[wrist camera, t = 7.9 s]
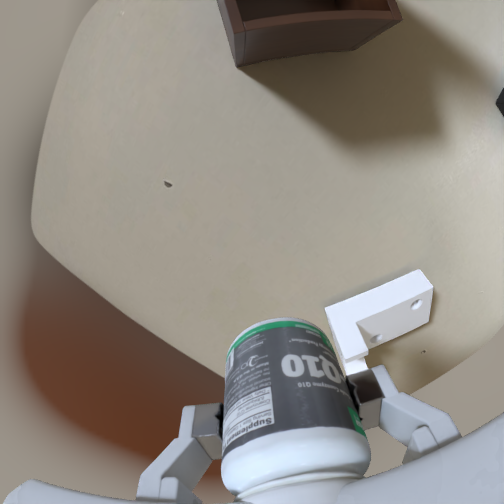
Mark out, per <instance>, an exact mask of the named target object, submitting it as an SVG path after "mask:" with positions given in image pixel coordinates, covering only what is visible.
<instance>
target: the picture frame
mask: <svg viewBox="0 0 504 504" xmlns="http://www.w3.org/2000/svg"><path fill="white" fill-rule="evenodd" d="M496 105H497V107H498V108H499V110H500V111H501V113H502V114H503V116H504V88H503V90H502V92H501V94H500V96H499V98H498V99H497V101H496Z"/></svg>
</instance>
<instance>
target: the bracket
mask: <svg viewBox="0 0 504 504" xmlns="http://www.w3.org/2000/svg"><path fill="white" fill-rule="evenodd" d="M432 294H433V286H432V285H431V283H430V282H429V281H428V279H427V278H426V277H425V275H424V274H423V273H422V272H421V270H420V269H417V270H415V271H413V272H410V273H408V274H406V275H404V276H401V277H399V278H397V279H395V280H392V281H390V282H388V283H385V284H383V285H381V286H378V287H376V288H374V289H371V290H369V291H366V292H364V293H362V294H359V295H357V296H354V297H352V298H349V299H347V300H344V301H342V302H339V303H336V304H334V305H331V306H329V307H326V308H325V311H326V315H327V319H328V322H329V326H330V328H331V331H332V334H333V338H334V342H335V345H336V348H337V351H338V353H339V356H340V359H341V361H342V364H343V367H344V369H345V372H346V375H350V374H353V373H357V372H360V371H363V370H366V369H368V368H367V365H366V362H365V359H364V356H366V355H369V354H368V349H371V348H373V347H375V346H378V345H380V344H382V343H385V342H387V341H389V340H391V339H394V338H396V337H398V336H400V335H402V334H404V333H407V332H409V331H411V330H413V329H415V328H417V327H419V326H421V325H423V324H425V323H427V322H428V321H429V315H430V309H431V302H432Z"/></svg>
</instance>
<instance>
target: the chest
mask: <svg viewBox="0 0 504 504" xmlns="http://www.w3.org/2000/svg"><path fill="white" fill-rule="evenodd" d="M217 3H218V7H219V10H220V13H221V17H222V20H223V24H224V27H225V30H226V34H227V37H228V41H229V44H230V48H231V51H232V55H233V59H234V62H235V66H236V67H241V66H245V65H250V64H254V63H259V62H264V61H269V60H275V59H281V58H287V57H293V56H300V55H307V54H316V53H324V52H335V51H347V50H355V49H357V48H359V47H360V46H362V45H363V44H365V43H366V42H368V41H369V40H371V39H373V38H374V37H376V36H377V35H379V34H381V33H382V32H384V31H385V30H387V29H389V28H390V27H392V26H394V25H395V24H397V23H399V22H401V21H402V20H403V19H402V16H401V14H400V11H399V8H398V6H397V3H396V1H395V0H217Z"/></svg>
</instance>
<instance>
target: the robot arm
mask: <svg viewBox="0 0 504 504" xmlns="http://www.w3.org/2000/svg"><path fill="white" fill-rule="evenodd" d="M345 381H346V384H347V386H348V389H349V392H350V395H351V397H352V399H353V402H354V405H355V407H356V410H357V412H358V416H359V418H360V421H361V424H362V426H363V429H364V430H367V429H370V428H374V427H377V426H379V427H380V428H381V429H382V430H384V431H385V432H387V433H388V434H389V435H391V436H392V437H394V438H395V439H397V440H398V441H399V442H401V443H402V444H404V445H405V446H407V447H408V448H407V451H406V454H405V456H404V459H403V462H402V463H403V465H401V466H398V467H396V468H393V469H390V470H388V471H385V472H382V473H379V474H376V475H373V476H370V477H367V478H364V479H360V480H357V481H354V482H350V483H348V484H346V485H344V486H343V487H342V488H341V490H340V492H339V495H338V499H337V502H336V504H504V412H503V413H502V414H500V415H499V416H497V417H496V418H494V419H493V420H491V421H489V422H488V423H486V424H484V425H483V426H481V427H479V428H478V429H476V430H474V431H472V432H471V433H469V434H467V435H465V436H464V437H462V436H461V434H460V432H459V431H458V429H457V427H456V425H455V424H454V422H453V420H452V418H451V417H450V415H449V414H448V413H446V412H444V411H442V410H439V409H437V408H435V407H433V406H431V405H429V404H427V403H424V402H422V401H420V400H418V399H416V398H414V397H412V396H410V395H408V394H406V393H404V392H400V393H399V392H398V390H397V388H396V386H395V384H394V383H393V381H392V379H391V377H390V375H389V373H388V371H387V370H386V368H385V366H384V365H383V364H382V365H379V366H376V367H373V368H369V369H366V370H363V371H360V372H357V373H353V374H350V375H347V376H346V377H345ZM223 420H224V405H223V404H222V403H213V404H202V405H193V406H185V407H184V408H183V411H182V417H181V424H180V430H179V437H178V438H177V439H174V440H173V441H172V442H171V443H170V444H169V446H168V447H167V448H166V449H165V450H164V451H163V452H162V453H161V454H160V455H159V456H158V457H157V459H155V461H154V462H153V463H152V464H151V465H150V466H149V467H148V468H147V469H146V470H145V471H144V472H143V473H142V474H141V476H140V481H139V486H138V491H137V496H136V501H135V500H126V499H119V498H112V497H106V496H100V495H95V494H90V493H85V492H80V491H76V490H72V489H68V488H64V487H59V486H56V485H53V484H49V483H46V482H42V481H39V480H36V479H30V480H28V481H26V482H25V483H23V484H21V485H20V486H19V487H17V488H16V489H15V490H13V491H12V492H10V494H9V495H8V496H7V498H6V499H5V501H4V503H3V504H202V501H201V500H200V499H199V498H198V497H197V496H196V495H194V494H193V493H192V490H193V489H194V487H195V486H196V485H197V483H198V482H199V480H200V479H201V477H202V476H203V474H204V473H205V471H206V470H207V468H208V467H209V465H210V464H211V462H212V460H216V459H222V444H223ZM218 504H254V503H251V502H235V503H218Z"/></svg>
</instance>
